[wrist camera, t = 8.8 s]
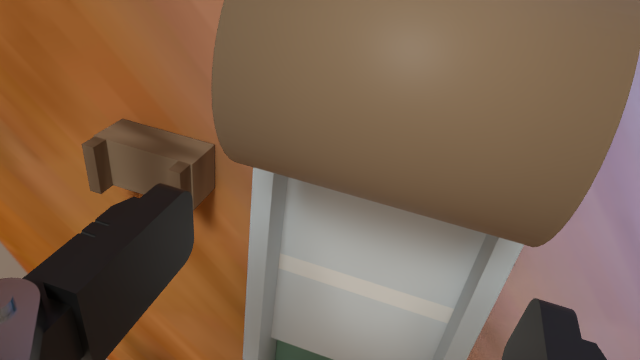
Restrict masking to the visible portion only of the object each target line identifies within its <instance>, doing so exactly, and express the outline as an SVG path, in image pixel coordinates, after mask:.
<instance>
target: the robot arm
mask: <svg viewBox="0 0 640 360" xmlns="http://www.w3.org/2000/svg"><path fill="white" fill-rule="evenodd" d="M193 243H194V226H193V199H192V195H191V193H190V192H189V191H186V190H182V189H179V188H176V187H173V186H169V185H166V184H163V183H159V184H156V185H155V186H154V187H153V188H151V189H150V190H149V191H148V192H147V193H145V194H144V195H143V196H142V197H141V198H136V197H132V198H130V199H127V200H125V201H122V202H120V203H118V204H115V205H113V206H111V207H110V208H109V209H108V210H106V211H105V212H104V213H103V214H101V215H100V216H99V217H98V218H97V219H96V220H95V222H92V223H90V224H89V225H88V226H87V227H85V228H84V229H83V230H82V232H81V234H79V233H78V234H77V235H76V236H74V237H73V238H72V239H71V240H69V241H68V242H67V243H66V244H65V245H63V246H62V247H61V248H60V249H58V250H57V251H56V252H55V253H53V254H52V255H51V256H50V257H49V258H47V259H46V260H45V261H44V262H42V263H41V264H40V265H39V266H37V267H36V268H35V269H34V270H32V271H31V272H30V273H29V274H28V275H26V276H25V277H24V278H22V279H21V278H3V279H0V360H105V359H106V358H107V357H108V356H109V354H110V353H111V352H112V351H113V349H114V348H115V347H116V346H117V345H118V343H119V342H120V341H121V340H122V339H123V337H124V336H125V335H126V334H127V333H128V331H129V330H130V329H131V328H132V327H133V325H134V324H135V323H136V322H137V321H138V319H139V318H140V317H141V316H142V315H143V313H144V312H145V311H146V310H147V309H148V307H149V306H150V305H151V304H152V303H153V301H154V300H155V299H156V298H157V297H158V295H159V294H160V293H161V292H162V291H163V289H164V288H165V287H166V286H167V285H168V283H169V282H170V281H171V280H172V279H173V277H174V276H175V275H176V274H177V273H178V271H179V270H180V269H181V268H182V267H183V265H184V264H185V263H186V261H187V260H188V258H189V256H190V254H191V251H192V248H193ZM502 360H607V359H606V358H605V356H604V355H603V353H602V352H601V350H600V349H599V347H598V346H597V344H596V343H593V342H590V341H586V340H583V339H582V338H581V333H580V329H579V324H578V320H577V316H576V313H575V312H574V310H572V309H569V308H566V307H562V306H559V305H556V304H553V303H549V302H546V301H543V300H539V299H536V298H535V299H533V300H532V301H531V302H530V303H529V305H528V306H527V308H526V310H525V312H524V314H523V315H522V317H521V319H520V321H519V322H518V324H517V326H516V328H515V329H514V331H513V333H512V335H511V337H510V338H509V340H508V342H507V344H506V346H505V349H504V353H503V357H502Z"/></svg>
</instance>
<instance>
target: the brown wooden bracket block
mask: <svg viewBox="0 0 640 360" xmlns="http://www.w3.org/2000/svg"><path fill="white" fill-rule="evenodd" d="M82 148H83V154H84V159H85V164H86V170H87V175H88V181H89V186H90V191H93V192H96V193H99V194H102V193H103V192H104V191H106V190H107V189H108V188H110V187H111V186H112V185H115V186H118V187H121V188H124V189H127V190H131V191H134V192H137V193H140V194H143V195H144V194H145V193H147V192H148V191H149V190H150V189H151V188H153V187H154V186H155V185H156V184H159V183H163V184H166V185H169V186H173V187H176V188H179V189H182V190H186V191H189V192H190V193H191V195H192V199H193V210H194V209H195V208H196V207H197V206H198V205H199V204H200V203H201V202H202V201H203V200H204V199H205V198H206V197H207V196H208V195H209V194H210V193H211V192H212V190H213V189H214V188H215V145H214V144H210V143H207V142H203V141H200V140H196V139H193V138H189V137H185V136H182V135H178V134H175V133H171V132H168V131H164V130H161V129H157V128H153V127H150V126H146V125H143V124H139V123H136V122H132V121H128V120H125V119H121V120H119V121H118V122H116V123H114V124H113V125H111V126H109V127H108V128H106V129H104V130H103V131H101V132H99V133H98V134H96V135H94V137H93V138H91V139H90V140H88V141H86V142H85V143H83V144H82Z"/></svg>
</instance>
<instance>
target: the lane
mask: <svg viewBox="0 0 640 360" xmlns="http://www.w3.org/2000/svg"><path fill="white" fill-rule="evenodd" d="M639 50H640V0H224V3H223V7H222V11H221V15H220V20H219V24H218V29H217V35H216V41H215V48H214V56H213V67H212V109H213V117H214V124H215V129H216V133H217V137H218V139H219V142H220V145H221V147H222V149H223V151H224V153H225V154H226V155H227V156H228V157H229V158H230V159H231V160H233V161H234V162H237V163H240V164H244V165H247V166H251V167H253V180H252V199H251V217H250V235H249V253H248V272H247V290H246V308H245V327H244V345H243V360H275V355H276V347H277V340H280V341H283V342H285V343H288V344H291V345H294V346H297V347H299V348H302V349H305V350H308V351H311V352H313V353H316V354H319V355H322V356H325V357H327V358H330V359H333V360H467V358H468V356H469V354H470V352H471V350H472V348H473V346H474V344H475V342H476V340H477V338H478V336H479V334H480V332H481V330H482V328H483V326H484V324H485V322H486V320H487V318H488V316H489V314H490V312H491V310H492V308H493V306H494V304H495V302H496V300H497V298H498V296H499V294H500V292H501V290H502V288H503V286H504V284H505V282H506V280H507V278H508V276H509V274H510V272H511V270H512V268H513V266H514V264H515V262H516V260H517V258H518V256H519V254H520V252H521V250H522V248H523V246H524V245H527V246H531V247H538V246H541V245H543V244H545V243H546V242H548V241H549V240H551V239H552V238H553V237H554V236H555V235H556V234H557V233H558V232H559V231H560V230H561V229H562V228H563V227H564V226H565V224H566V223H567V222H568V221H569V219H570V218H571V217H572V215H573V214H574V212H575V211H576V209H577V208H578V207H579V205H580V204H581V202H582V200H583V199H584V197H585V195H586V194H587V192H588V190H589V189H590V187H591V185H592V183H593V181H594V179H595V177H596V175H597V173H598V171H599V169H600V168H601V165H602V163H603V161H604V159H605V157H606V154H607V152H608V150H609V148H610V145H611V143H612V140H613V138H614V135H615V133H616V130H617V128H618V125H619V123H620V120H621V117H622V114H623V111H624V108H625V105H626V102H627V99H628V96H629V92H630V89H631V85H632V82H633V78H634V74H635V70H636V65H637V61H638V56H639Z"/></svg>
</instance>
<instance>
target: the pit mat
mask: <svg viewBox="0 0 640 360" xmlns="http://www.w3.org/2000/svg"><path fill="white" fill-rule="evenodd" d="M275 360H333V359H330V358H327V357H325V356H322V355H319V354H316V353H313V352H311V351H308V350H305V349H302V348H299V347H297V346H294V345H291V344H288V343H285V342H283V341H280V340H277V347H276V355H275Z"/></svg>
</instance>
